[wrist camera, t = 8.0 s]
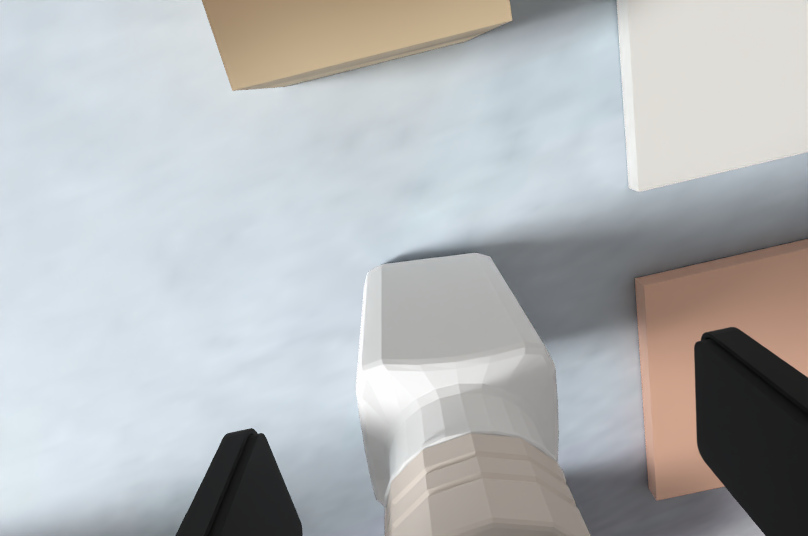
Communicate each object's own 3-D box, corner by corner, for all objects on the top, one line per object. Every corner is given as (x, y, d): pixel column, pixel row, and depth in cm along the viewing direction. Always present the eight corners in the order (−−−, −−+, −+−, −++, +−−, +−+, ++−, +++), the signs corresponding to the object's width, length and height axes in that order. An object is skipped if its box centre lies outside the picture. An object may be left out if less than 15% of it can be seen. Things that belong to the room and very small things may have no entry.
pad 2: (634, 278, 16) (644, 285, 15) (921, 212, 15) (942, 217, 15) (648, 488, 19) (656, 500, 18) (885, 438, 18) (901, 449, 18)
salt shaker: (379, 370, 16) (376, 709, 8) (361, 259, 15) (334, 519, 6) (497, 356, 16) (632, 678, 8) (491, 243, 15) (649, 480, 6)
